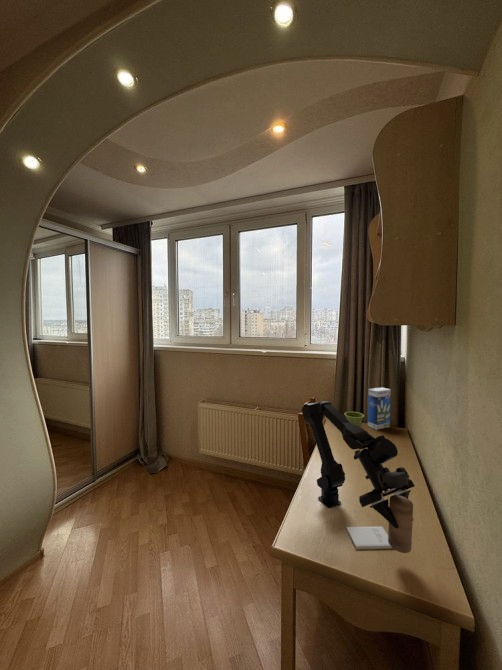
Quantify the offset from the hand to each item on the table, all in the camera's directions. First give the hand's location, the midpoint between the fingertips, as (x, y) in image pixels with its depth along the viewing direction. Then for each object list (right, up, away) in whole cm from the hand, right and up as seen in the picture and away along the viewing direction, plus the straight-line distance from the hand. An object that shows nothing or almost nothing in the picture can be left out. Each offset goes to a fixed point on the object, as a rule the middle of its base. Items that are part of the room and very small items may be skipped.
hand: (404, 524), depth 78 cm
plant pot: (+22, -8, +97) cm, 100 cm away
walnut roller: (-1, -7, +2) cm, 7 cm away
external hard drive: (-6, -13, +10) cm, 17 cm away
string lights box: (+43, -8, +106) cm, 115 cm away
